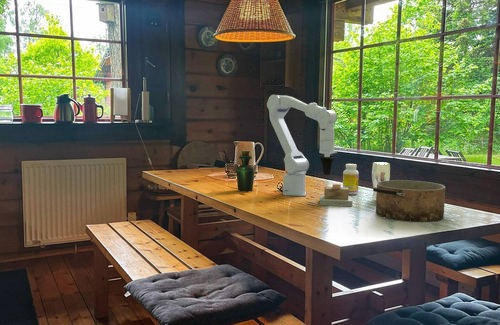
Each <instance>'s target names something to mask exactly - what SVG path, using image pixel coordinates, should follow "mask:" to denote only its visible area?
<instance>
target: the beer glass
mask: <svg viewBox="0 0 500 325" xmlns="http://www.w3.org/2000/svg"><path fill="white" fill-rule="evenodd" d="M390 172H391V163H389V162H380V161H379V162H378V161H377V162H372V170H371V180H372V187H373V188H377V183H378V182H380V181H388V180H390V177H391V173H390ZM373 188H372V189H373ZM372 191H373V190H372ZM376 193H377V192H375V191H373V192H372V198H371V199H372V201H375V202H376Z"/></svg>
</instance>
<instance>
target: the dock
mask: <svg viewBox="0 0 500 325" xmlns="http://www.w3.org/2000/svg"><path fill="white" fill-rule="evenodd" d="M319 205H320V206H330V207H331V206H333V207H334V206H335V207H339V206H340V207H353V198H352V196H351V195H348V200H339V199H324V194H323V195H320V196H319Z"/></svg>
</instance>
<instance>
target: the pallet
mask: <svg viewBox="0 0 500 325" xmlns="http://www.w3.org/2000/svg"><path fill="white" fill-rule="evenodd" d="M348 194H349V189H348V187H343V186H341V189H334V188H332V186H324V193H323V196H324V199H339V200H348V196H349V195H348Z"/></svg>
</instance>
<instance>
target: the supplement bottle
mask: <svg viewBox="0 0 500 325" xmlns="http://www.w3.org/2000/svg"><path fill="white" fill-rule="evenodd" d="M357 166H358V165H357V164H356V163H355V164H354V163H346V164H345V170H343V172H342V187H348V189H349V194H348V196H351V195H353V196H354V195H358V193H359V175H360V174H359V171H358V170H357V168H358V167H357Z"/></svg>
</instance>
